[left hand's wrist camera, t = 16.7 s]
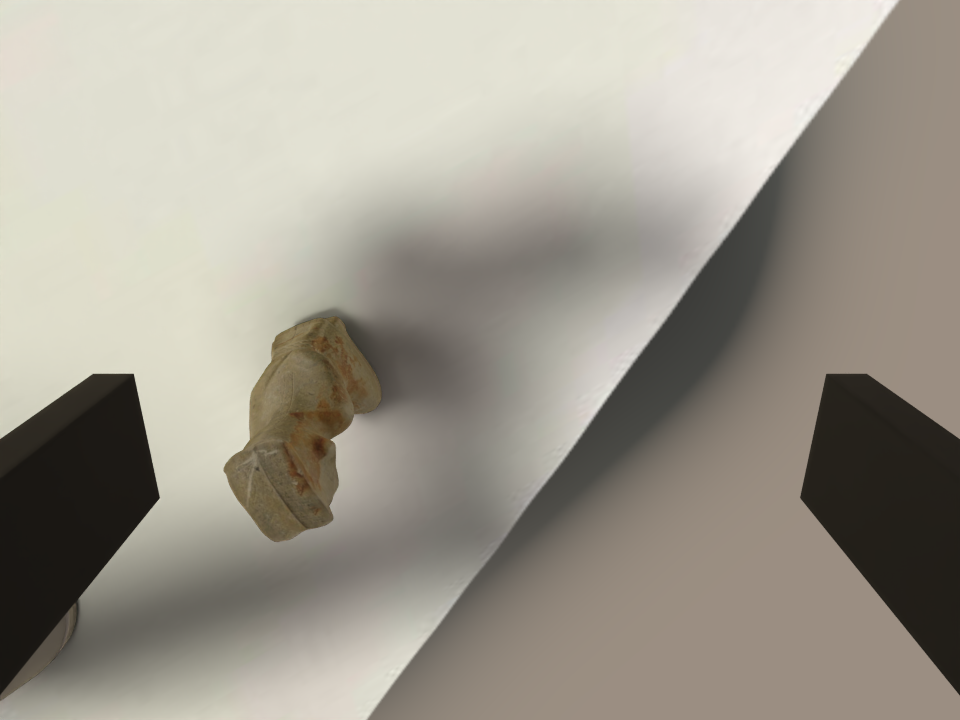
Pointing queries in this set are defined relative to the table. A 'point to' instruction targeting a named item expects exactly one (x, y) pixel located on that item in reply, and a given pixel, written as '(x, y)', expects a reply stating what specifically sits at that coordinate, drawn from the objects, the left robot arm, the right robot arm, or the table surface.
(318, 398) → the sculpture
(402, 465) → the table surface
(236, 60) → the table surface
